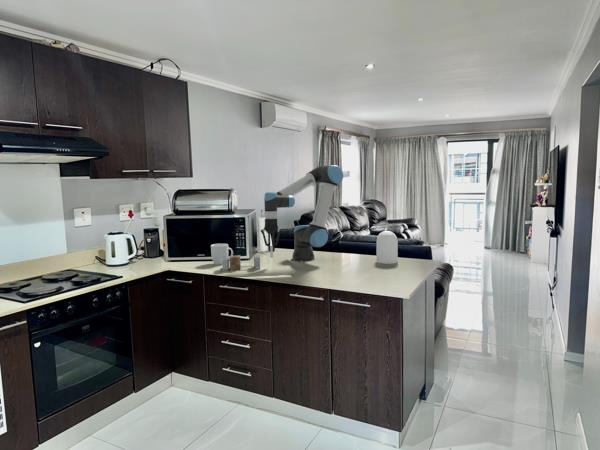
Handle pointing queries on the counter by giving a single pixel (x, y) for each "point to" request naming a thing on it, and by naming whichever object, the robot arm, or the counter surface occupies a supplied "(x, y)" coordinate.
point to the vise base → (237, 270)
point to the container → (387, 248)
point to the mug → (219, 252)
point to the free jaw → (257, 261)
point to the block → (235, 262)
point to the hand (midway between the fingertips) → (271, 257)
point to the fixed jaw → (225, 263)
